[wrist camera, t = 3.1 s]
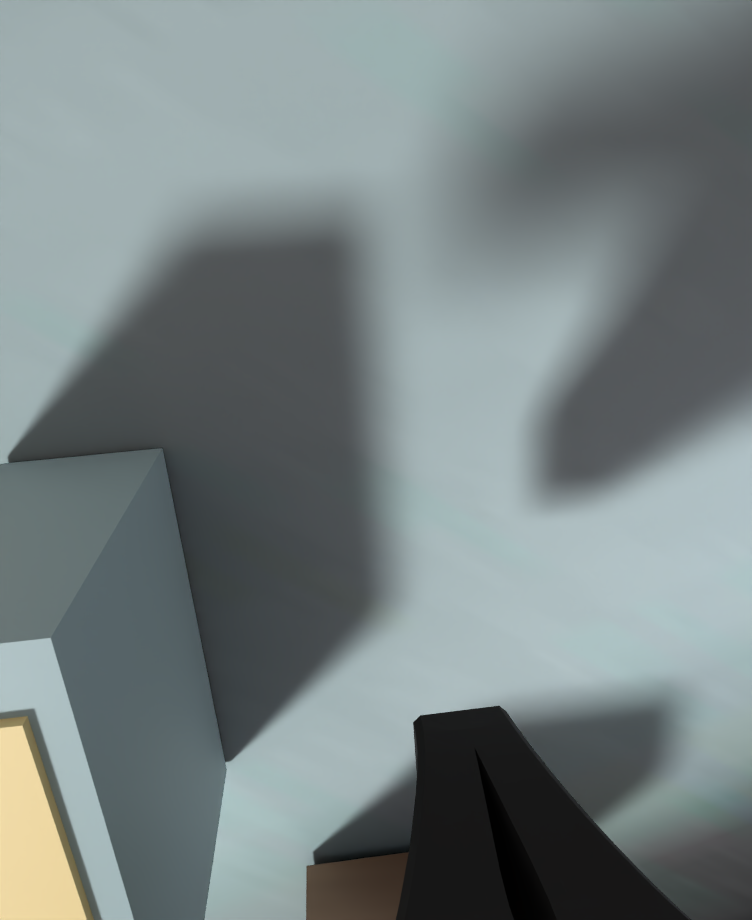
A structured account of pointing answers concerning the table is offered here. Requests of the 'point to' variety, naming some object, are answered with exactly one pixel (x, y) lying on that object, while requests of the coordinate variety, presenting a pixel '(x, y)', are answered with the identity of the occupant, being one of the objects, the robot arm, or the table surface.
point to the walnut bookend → (356, 888)
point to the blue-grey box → (102, 698)
